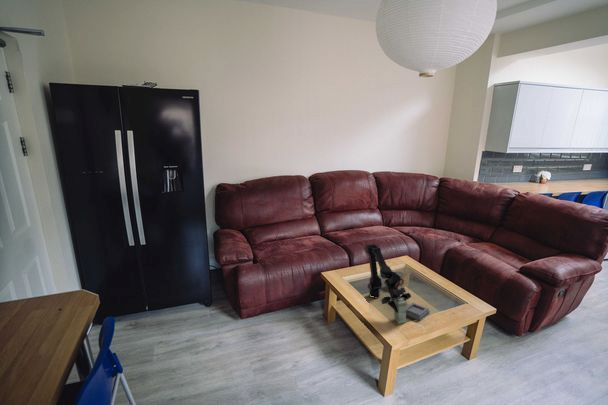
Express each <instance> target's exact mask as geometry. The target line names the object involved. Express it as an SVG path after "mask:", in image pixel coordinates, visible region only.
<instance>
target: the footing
mask: <svg viewBox="0 0 608 405" xmlns="http://www.w3.org/2000/svg"><path fill="white" fill-rule="evenodd" d="M430 312H431V310H430V309H429V308H428V307H426V306H423V305H421V304H417V303H415V302H412V303H410V304H409V305H406V317H407V316H408V317H410V318H411V319H415V320H416V321H419V322H421V321H422V320H424V319H425V318H426V317H427V316H429V315H430ZM423 318H424V319H423Z"/></svg>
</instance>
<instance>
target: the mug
mask: <svg viewBox="0 0 608 405" xmlns="http://www.w3.org/2000/svg"><path fill="white" fill-rule="evenodd" d="M396 274H398V275H399V276H400V277H401V275H402V274H400V273H398V272H396ZM400 282H401V283H400ZM400 282H398V283H397V284H396V287H398V288H399V286H402V285H404V283H405V281H404V279H403V278H401V280H400Z"/></svg>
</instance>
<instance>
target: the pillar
mask: <svg viewBox="0 0 608 405" xmlns="http://www.w3.org/2000/svg"><path fill="white" fill-rule="evenodd" d="M394 301H395V306H396V308H397V311H398V313H396V311H395V310H394V309H393V310H394V313H393V314H394V318H393V319H394V321H395V322H396V323H397V324H398V325H400V324H406V323H407V322H406V321H407V315H406V307H407V300H406V301H405V300H403V299H402V298H400V299H395V300H394Z"/></svg>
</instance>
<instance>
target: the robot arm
mask: <svg viewBox="0 0 608 405" xmlns="http://www.w3.org/2000/svg"><path fill="white" fill-rule="evenodd" d="M364 250H365V254H366V255H367V256H368V261H369V269H370V277H369V283H368V284H367V289H368V290H369V295H370V294H371V296H374V297H378V298H379V297H380V295H381V292H380V291H381V289H382V285H383V284H385V285H386V288H387V293H388V294H389V295H388V296H384V297H382V298H381V304H382V305H384V304H385V305H386V304H387V305H389V307H391V309H392V310H395V311H396V313H398V311H397V308H396V306H395V299H400V298H402V299H403V300H405V301H406V302H407V300H409V299H411V298H412V295H411V293H409V292H407V291H406V288H405V287H400V288H399V286H398V287H396V284H397V283H398V282H401V281H402V280H401V279H402V278H401V277H400V276H399V275H398V274H399V273H398V274H396V273H397V272H396V271H393V270H392V269H391V267H390V266H389V265H387V262H386V261H385V260H386V259H385V258H384V255H383V254H382V250H381V247H379V245H377V244H375V243H369V244H366V245H365V247H364ZM377 265H378V266H377ZM378 267H379V274H380V276H379V275H378ZM382 279H384V282H383V283H382Z"/></svg>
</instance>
